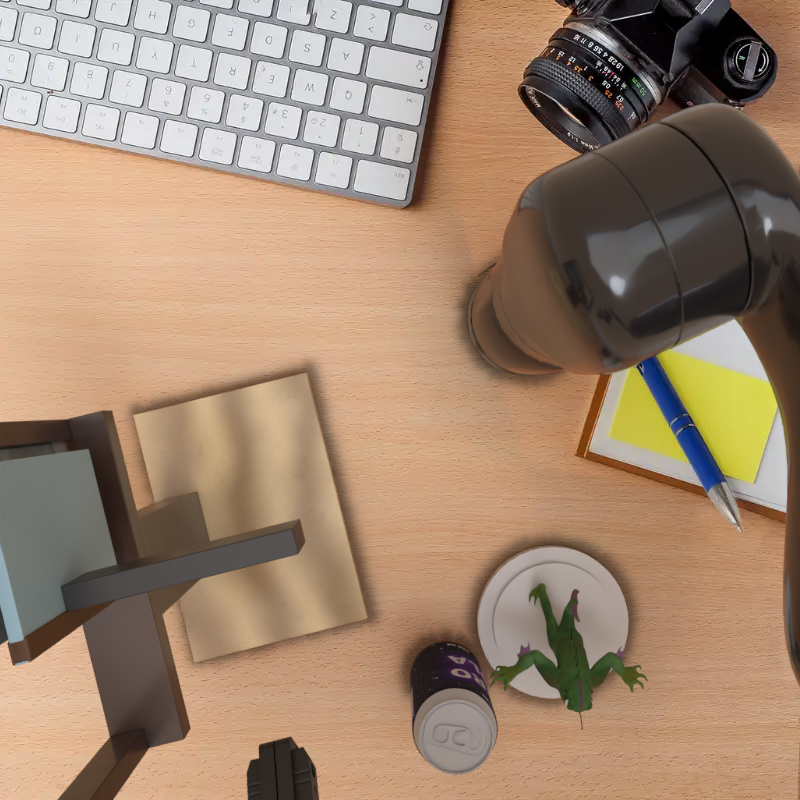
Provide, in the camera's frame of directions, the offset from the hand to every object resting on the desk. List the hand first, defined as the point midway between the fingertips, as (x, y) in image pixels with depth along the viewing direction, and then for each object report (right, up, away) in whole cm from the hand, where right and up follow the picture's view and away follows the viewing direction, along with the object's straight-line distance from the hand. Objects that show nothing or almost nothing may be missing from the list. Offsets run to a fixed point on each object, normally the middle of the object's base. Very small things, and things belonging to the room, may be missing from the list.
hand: (280, 746), depth 35 cm
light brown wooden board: (-6, +7, +26) cm, 28 cm away
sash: (-5, +11, +6) cm, 13 cm away
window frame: (-11, +6, +25) cm, 28 cm away
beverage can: (+9, -6, +27) cm, 29 cm away
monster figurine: (+18, -2, +27) cm, 32 cm away
